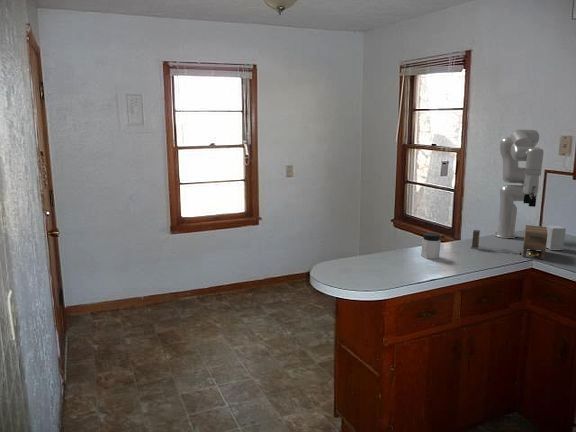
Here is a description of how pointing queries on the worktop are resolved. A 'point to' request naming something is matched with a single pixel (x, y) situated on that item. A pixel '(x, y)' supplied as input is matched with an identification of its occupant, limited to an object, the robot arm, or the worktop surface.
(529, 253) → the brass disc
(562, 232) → the supplement box
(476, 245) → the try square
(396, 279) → the worktop surface
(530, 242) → the cabinet
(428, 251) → the jar
